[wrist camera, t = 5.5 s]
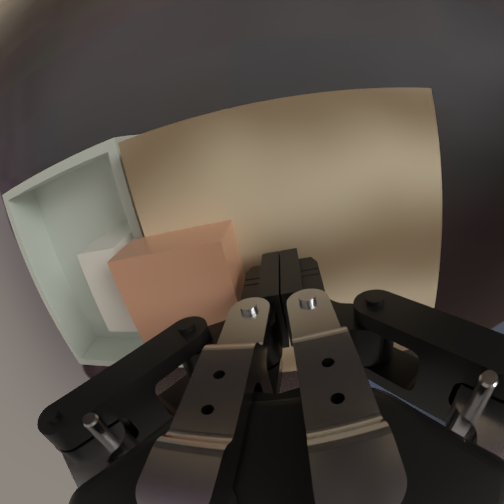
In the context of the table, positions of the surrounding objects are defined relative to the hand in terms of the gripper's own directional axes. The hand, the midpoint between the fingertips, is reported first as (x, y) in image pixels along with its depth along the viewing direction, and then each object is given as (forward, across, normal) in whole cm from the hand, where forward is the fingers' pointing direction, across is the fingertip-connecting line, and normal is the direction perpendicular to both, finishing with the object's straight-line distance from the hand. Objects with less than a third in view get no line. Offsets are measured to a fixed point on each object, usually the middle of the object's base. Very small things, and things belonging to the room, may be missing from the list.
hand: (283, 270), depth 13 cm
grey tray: (+6, +12, 0) cm, 14 cm away
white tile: (+2, +8, 0) cm, 8 cm away
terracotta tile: (+1, +4, 0) cm, 4 cm away
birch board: (+6, -1, 0) cm, 6 cm away
